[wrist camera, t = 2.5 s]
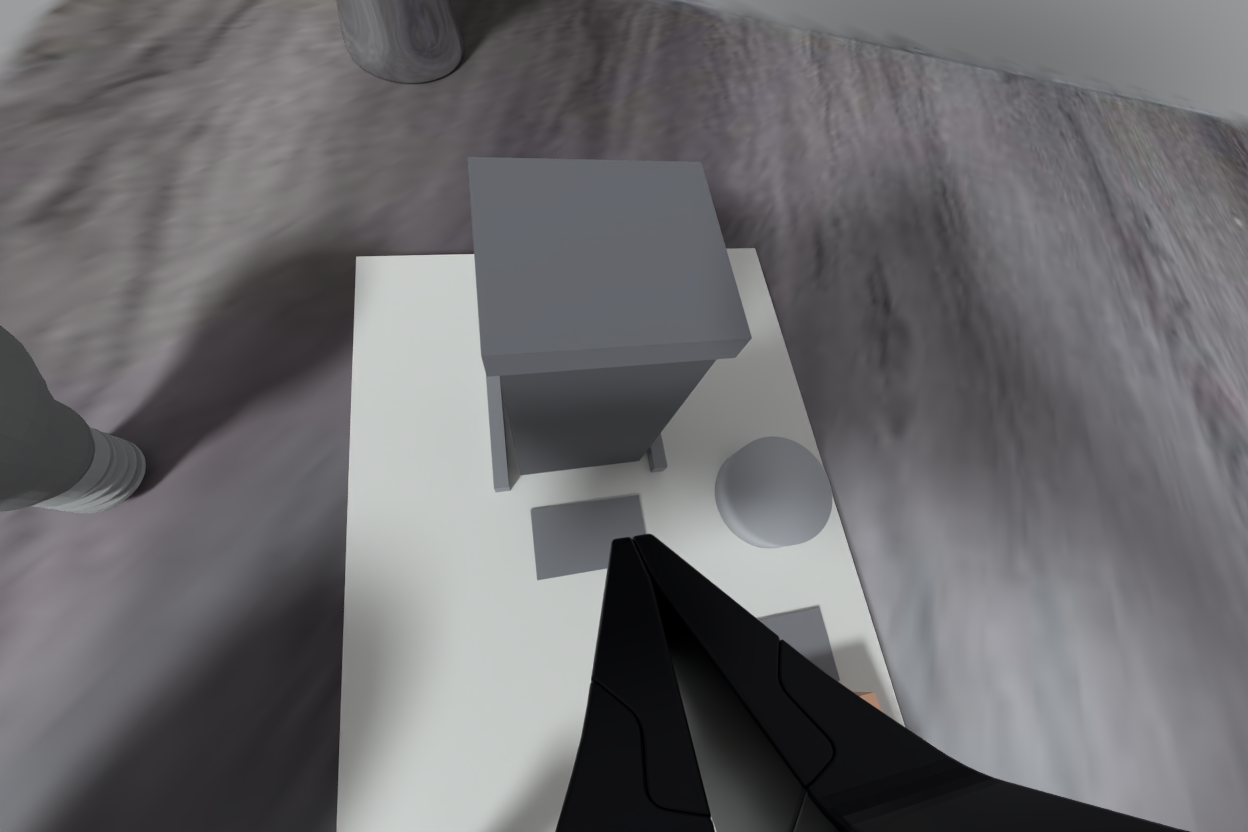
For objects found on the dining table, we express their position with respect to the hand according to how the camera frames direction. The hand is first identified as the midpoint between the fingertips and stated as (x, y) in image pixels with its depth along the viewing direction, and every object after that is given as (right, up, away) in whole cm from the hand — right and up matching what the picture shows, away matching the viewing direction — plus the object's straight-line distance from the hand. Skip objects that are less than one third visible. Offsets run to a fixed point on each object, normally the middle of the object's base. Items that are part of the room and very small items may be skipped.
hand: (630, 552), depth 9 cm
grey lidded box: (-2, +3, +8) cm, 9 cm away
